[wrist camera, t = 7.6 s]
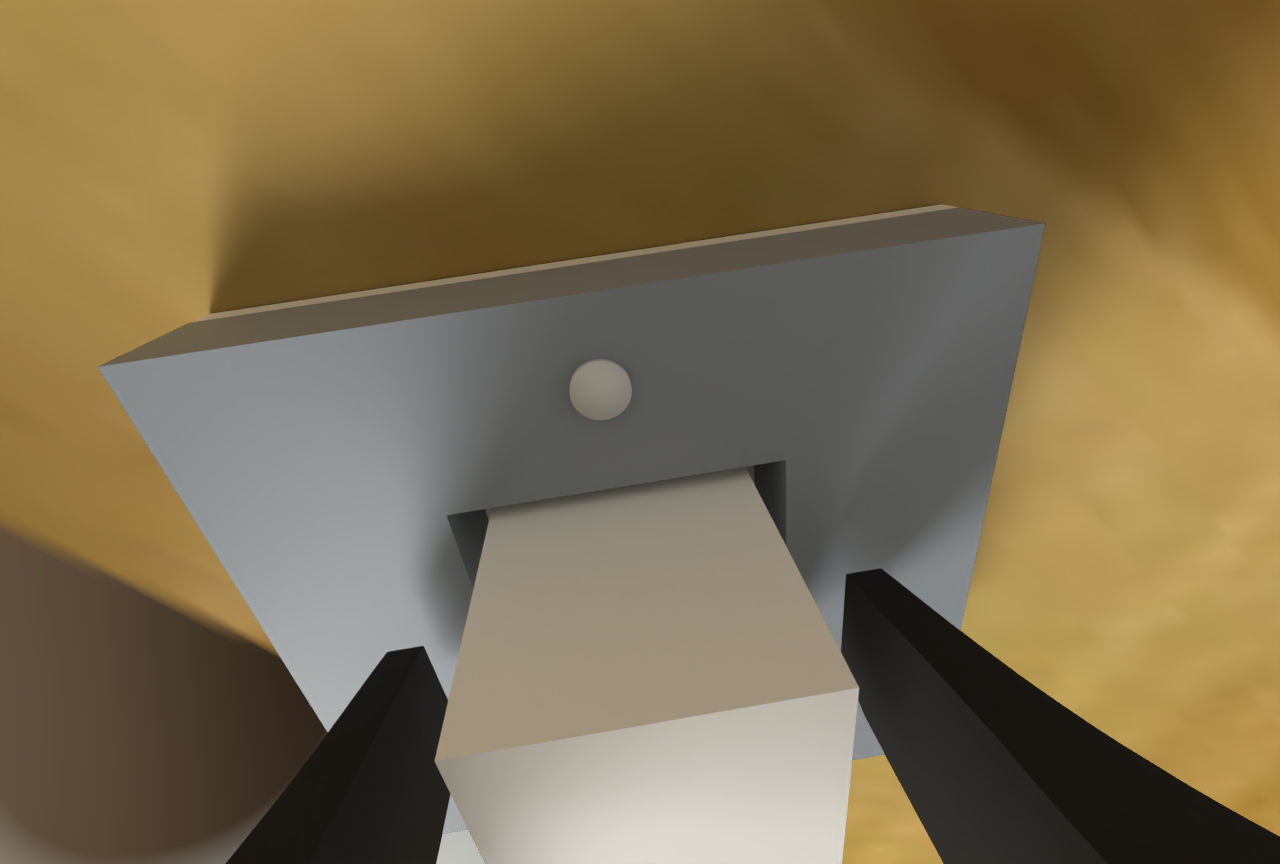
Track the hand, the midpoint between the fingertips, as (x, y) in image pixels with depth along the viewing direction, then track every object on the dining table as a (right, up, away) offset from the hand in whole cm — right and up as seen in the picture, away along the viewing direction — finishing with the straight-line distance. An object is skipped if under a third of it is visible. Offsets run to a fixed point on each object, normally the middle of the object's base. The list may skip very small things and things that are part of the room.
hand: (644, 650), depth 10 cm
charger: (0, +2, +2) cm, 3 cm away
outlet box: (0, +2, +3) cm, 3 cm away
